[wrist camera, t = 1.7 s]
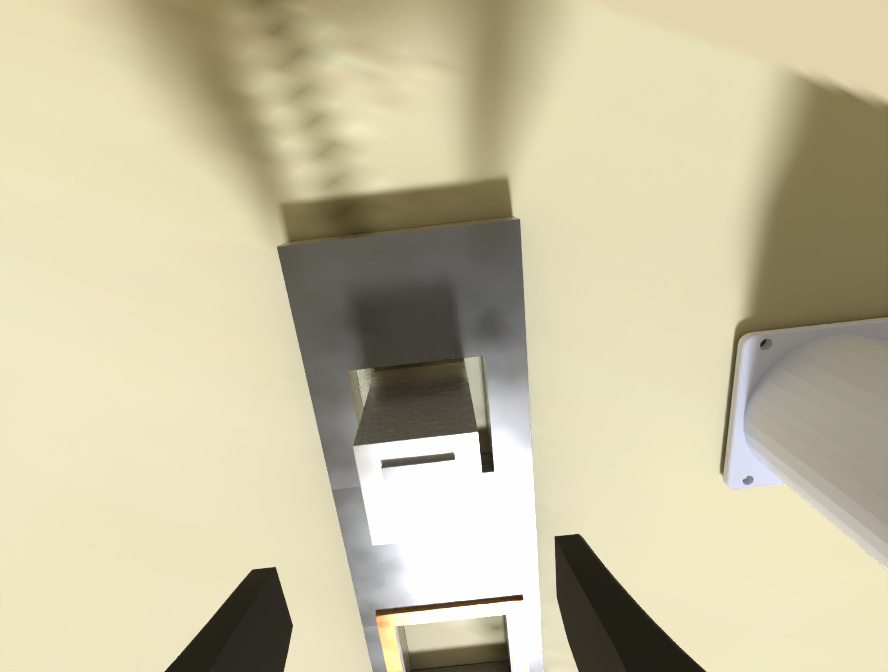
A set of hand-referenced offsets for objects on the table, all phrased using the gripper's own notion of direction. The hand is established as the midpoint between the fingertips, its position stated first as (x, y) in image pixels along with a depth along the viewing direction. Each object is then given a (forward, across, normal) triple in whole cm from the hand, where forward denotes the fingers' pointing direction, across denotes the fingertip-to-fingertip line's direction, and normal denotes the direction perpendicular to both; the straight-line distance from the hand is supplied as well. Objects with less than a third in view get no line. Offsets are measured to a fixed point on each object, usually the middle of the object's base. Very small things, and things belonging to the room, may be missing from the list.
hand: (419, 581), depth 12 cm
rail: (+10, 0, +7) cm, 12 cm away
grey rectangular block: (+10, 0, 0) cm, 10 cm away
